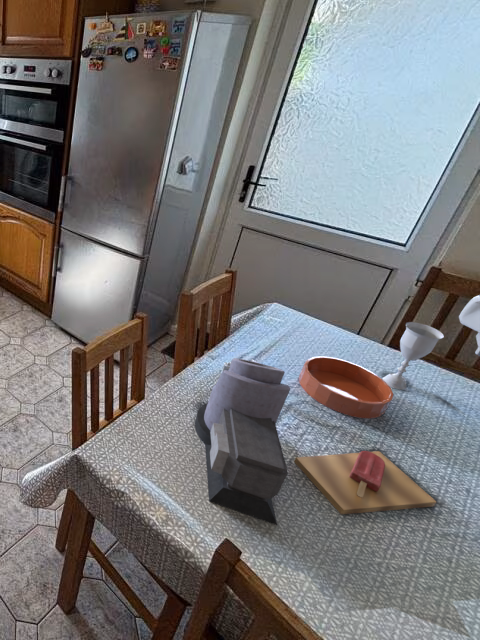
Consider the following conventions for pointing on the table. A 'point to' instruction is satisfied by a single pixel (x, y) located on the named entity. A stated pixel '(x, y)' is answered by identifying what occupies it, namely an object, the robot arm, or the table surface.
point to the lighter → (227, 365)
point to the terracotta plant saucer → (345, 387)
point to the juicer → (244, 438)
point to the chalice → (413, 350)
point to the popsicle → (368, 472)
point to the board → (342, 489)
